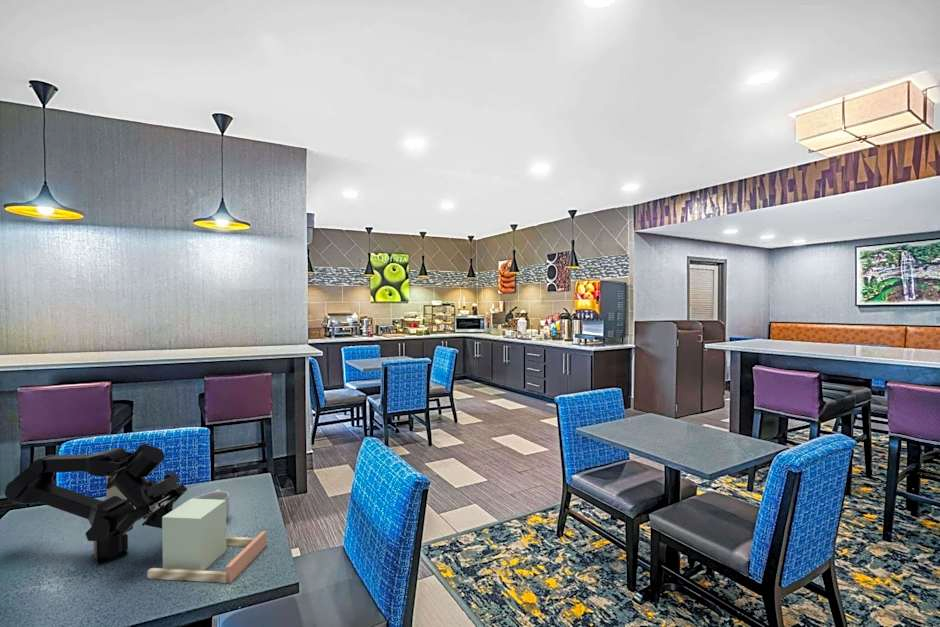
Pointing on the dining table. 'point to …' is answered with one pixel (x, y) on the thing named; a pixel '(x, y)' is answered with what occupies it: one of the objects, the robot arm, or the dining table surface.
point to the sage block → (194, 534)
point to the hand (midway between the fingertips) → (176, 530)
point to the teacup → (217, 497)
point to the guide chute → (232, 571)
